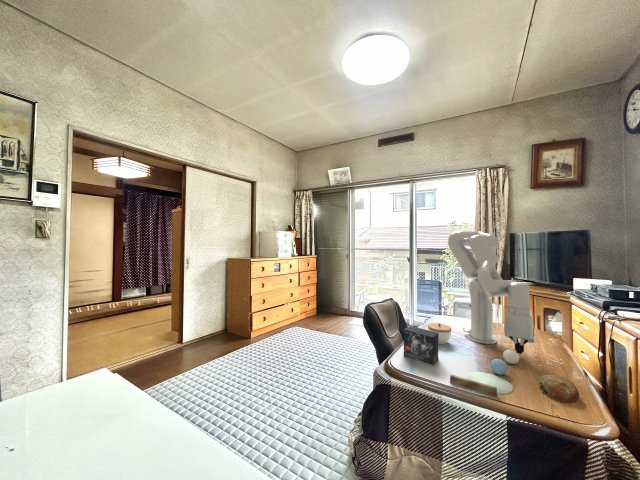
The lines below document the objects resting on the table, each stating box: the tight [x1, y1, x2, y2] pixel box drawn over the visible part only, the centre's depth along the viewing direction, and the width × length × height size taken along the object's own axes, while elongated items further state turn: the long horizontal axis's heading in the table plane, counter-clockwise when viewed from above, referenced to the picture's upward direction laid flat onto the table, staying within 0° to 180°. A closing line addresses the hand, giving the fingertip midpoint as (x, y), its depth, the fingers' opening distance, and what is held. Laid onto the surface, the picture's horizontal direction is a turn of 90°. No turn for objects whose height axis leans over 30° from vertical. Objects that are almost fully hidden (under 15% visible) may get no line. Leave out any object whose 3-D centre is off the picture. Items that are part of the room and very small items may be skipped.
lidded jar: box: [427, 322, 452, 345], centre depth 132 cm, size 11×11×9 cm
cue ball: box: [502, 349, 520, 365], centre depth 109 cm, size 6×6×6 cm
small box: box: [403, 325, 439, 366], centre depth 114 cm, size 13×7×12 cm, turn 46°
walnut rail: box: [449, 374, 498, 397], centre depth 91 cm, size 14×1×2 cm, turn 54°
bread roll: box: [538, 374, 580, 404], centre depth 88 cm, size 10×10×8 cm
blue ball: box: [490, 358, 508, 375], centre depth 101 cm, size 6×6×6 cm
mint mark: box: [466, 371, 514, 395], centre depth 94 cm, size 14×14×1 cm
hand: (519, 352), depth 115 cm, fingers closed
